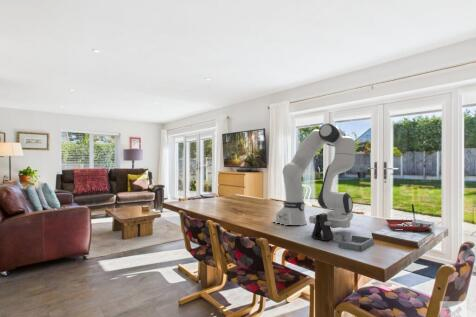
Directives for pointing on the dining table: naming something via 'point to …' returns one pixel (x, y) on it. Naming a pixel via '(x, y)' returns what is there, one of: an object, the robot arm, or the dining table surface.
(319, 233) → the black a-shaped stand
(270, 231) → the dining table surface
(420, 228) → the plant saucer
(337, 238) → the grey cube
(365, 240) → the tray
